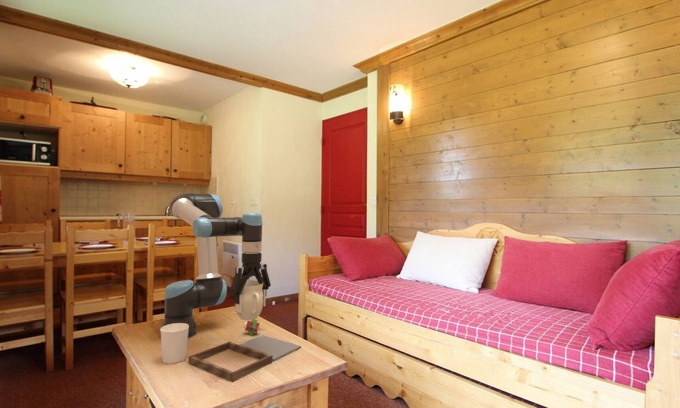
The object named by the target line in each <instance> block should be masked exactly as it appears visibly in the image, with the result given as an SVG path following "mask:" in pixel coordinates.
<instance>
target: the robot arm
mask: <svg viewBox="0 0 680 408" xmlns="http://www.w3.org/2000/svg"><path fill="white" fill-rule="evenodd" d="M223 207H224V206H223V202H222V200H221V198H220V197H219V196H218V195H217V194H211V193H193V192H191V193H190V192H185V193H183V192H182V193H180V194H178V195H176V196H174V197H173V198H172V199H171V201H170V203H169V212H170V213H171V215H172V216H173V217H175V218H177V219H179V220H183V221H184V222H185V223H187V224H188V225H190V226H191V227H192V233H193V235H194V236H195V237H196V238H197V242H196V243H197V261H198V262H197V263H198V265H197V266H198V276H197V277H195V282H194V281H193V280H191V279H190V280H189V279H186V280H178V281H175V282H171V283H170V284H168V285H167V286H165V291H164V296H163V298H164V319H163V322H162V325H161V327H160V329H161V328H162V327H163V326H166V325H169V324H175V323H184V324H188V325H189V329H188V339H189V338H191V337H194V336H195V335H196V334H197V330H198V329H197V325H196V321H195V319H194V310H195V309H200V308H206V307H214V306H217V305H220V304H222V303H224V301H225V299H226V297H227V292H228V286H227V282H226V281H225V279H222V275H221V274H220V273H219V270H218V269H219V268H218V250H217V249H218V248H217V237H241V252H242V253H241V263H242V266H240V267H237V266H236V267H235V268H234V277H233V280H232V283H231V286H230V289H229V290H230V291H229V293H230V294H231V295H233V296H234V305H235V304H236V308H235V312H236V313H237V312H239V313H242V295H240V294H241V292H242V290H243V288H244V286H245V284H246V282H247V280H248V279H249V280H250V278H252V277H254V278H255V279H256V281H258V283H259V284H262V283H263V287H262V292H263V295H264V303H263V307H266V297H267V294H268V293H267V291H268V290H269V287H271V286H272V285H271V280H270V276H269V274H268V270H267V269H268V265H267V264H266V263H261V262H262V256H263V255H262V251H263V250H262V246H263V244H262V243H263V242H262V239H263V236H262V235H263V215H262V214H261V213H260V212H244V213H242V217H240V216H235V217H221V216H222V215H223V210H224V208H223ZM159 339H161V331H160V330H159Z"/></svg>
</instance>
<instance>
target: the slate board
mask: <svg viewBox="0 0 680 408" xmlns="http://www.w3.org/2000/svg"><path fill="white" fill-rule="evenodd" d="M238 345H241V346H245V347H248V348H251V349H254V350H257V351H260V352H263V353H266V354H269V355H272V362H275V361H277V360H279V359H282V358H284V357H286V356H288V355H290V354H292V353H295V352H296V351H298V350H300V349H302V345H299V344H296V343H292V342H289V341H285V340H281V339H279V338H274V337H271V336H267V335H264V334H262V335H260V336H258V337H254V338H252V339H250V340H248V341H244V342H242V343H239V344H238Z"/></svg>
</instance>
